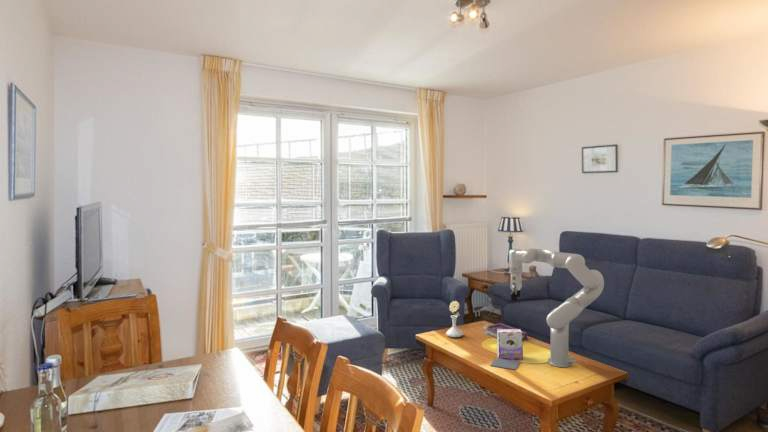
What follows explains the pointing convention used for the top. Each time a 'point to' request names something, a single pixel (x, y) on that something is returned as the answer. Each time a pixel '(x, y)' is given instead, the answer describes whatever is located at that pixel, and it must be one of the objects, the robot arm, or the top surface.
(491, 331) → the book
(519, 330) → the candy box
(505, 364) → the mat
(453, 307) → the flower in vase
